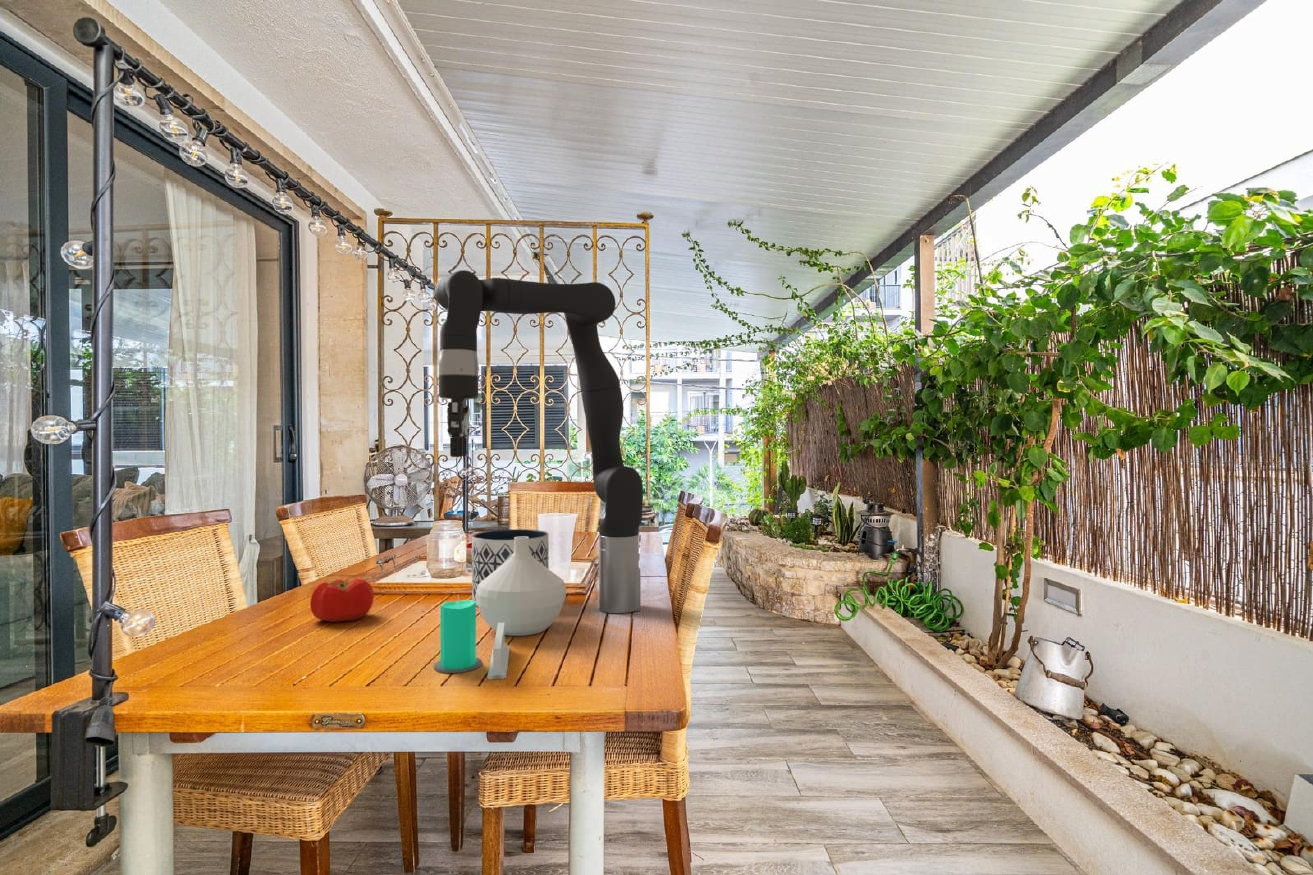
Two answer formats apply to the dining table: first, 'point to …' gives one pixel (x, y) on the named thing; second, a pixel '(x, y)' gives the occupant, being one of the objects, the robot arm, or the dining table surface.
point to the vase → (521, 594)
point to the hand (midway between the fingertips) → (458, 456)
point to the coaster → (440, 669)
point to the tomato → (341, 600)
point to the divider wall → (499, 655)
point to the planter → (503, 551)
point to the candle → (458, 634)
